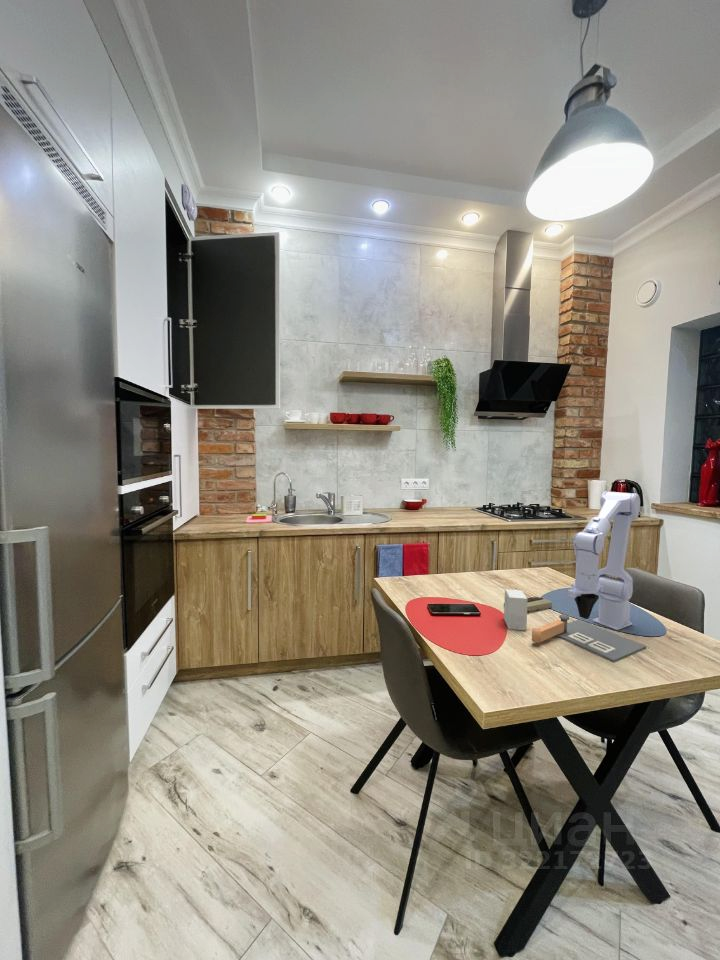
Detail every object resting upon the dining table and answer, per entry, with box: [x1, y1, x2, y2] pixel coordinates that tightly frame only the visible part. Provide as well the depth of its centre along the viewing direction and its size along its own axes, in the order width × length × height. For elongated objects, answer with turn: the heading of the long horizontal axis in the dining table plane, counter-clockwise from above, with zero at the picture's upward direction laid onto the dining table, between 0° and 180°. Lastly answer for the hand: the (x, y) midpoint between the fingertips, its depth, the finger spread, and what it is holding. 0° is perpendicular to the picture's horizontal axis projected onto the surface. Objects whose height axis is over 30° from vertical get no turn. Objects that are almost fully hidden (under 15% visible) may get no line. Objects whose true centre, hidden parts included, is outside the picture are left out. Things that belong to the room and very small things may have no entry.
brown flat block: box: [503, 596, 552, 614], centre depth 139 cm, size 16×8×3 cm, turn 115°
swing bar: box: [531, 619, 564, 644], centre depth 114 cm, size 2×14×3 cm, turn 123°
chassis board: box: [554, 614, 647, 663], centre depth 115 cm, size 17×20×5 cm
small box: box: [503, 588, 528, 631], centre depth 124 cm, size 8×6×10 cm
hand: (584, 617), depth 113 cm, fingers closed
